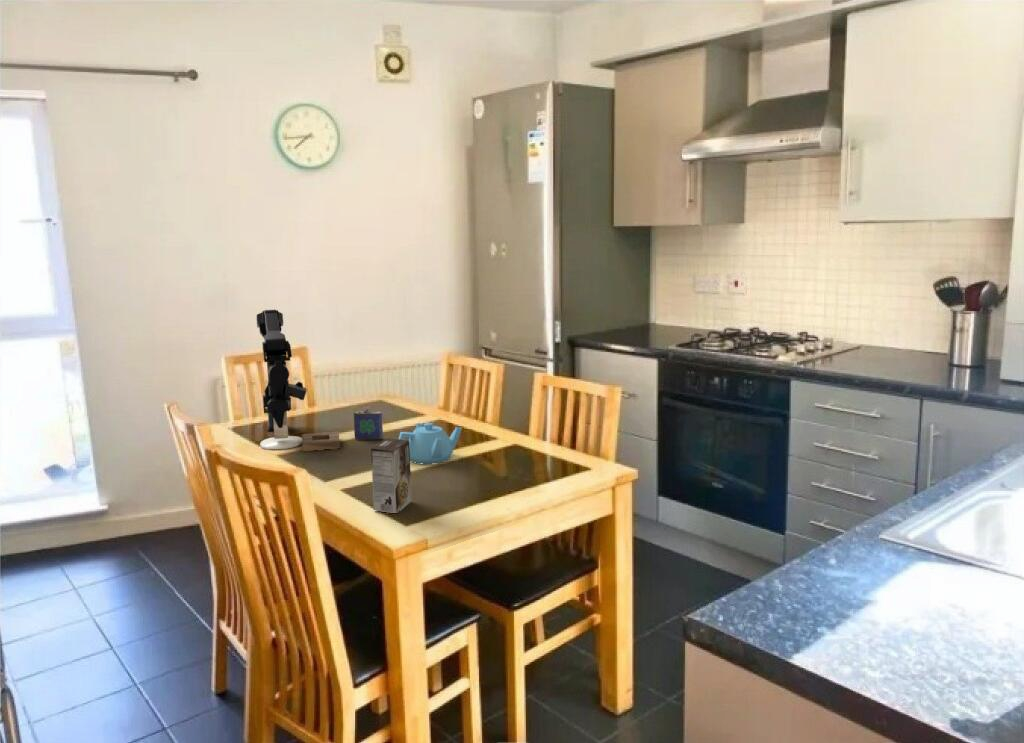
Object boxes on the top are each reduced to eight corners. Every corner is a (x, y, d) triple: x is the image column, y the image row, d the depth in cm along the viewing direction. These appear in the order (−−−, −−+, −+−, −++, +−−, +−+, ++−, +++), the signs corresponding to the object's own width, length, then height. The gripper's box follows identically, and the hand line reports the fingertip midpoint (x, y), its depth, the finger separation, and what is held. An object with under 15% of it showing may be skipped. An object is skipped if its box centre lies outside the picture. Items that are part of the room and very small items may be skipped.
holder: (302, 441, 246) (302, 434, 246) (338, 439, 249) (338, 431, 248) (302, 451, 235) (302, 443, 235) (340, 448, 238) (339, 441, 238)
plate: (261, 440, 248) (261, 437, 248) (303, 437, 252) (303, 434, 252) (259, 451, 236) (259, 448, 236) (303, 447, 239) (303, 445, 239)
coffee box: (389, 499, 194) (386, 437, 191) (412, 501, 193) (410, 439, 189) (372, 512, 186) (369, 447, 183) (396, 514, 184) (394, 449, 181)
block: (275, 435, 245) (273, 408, 243) (288, 434, 246) (286, 407, 244) (274, 438, 241) (272, 411, 239) (287, 437, 242) (286, 410, 240)
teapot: (419, 449, 238) (418, 415, 236) (463, 453, 233) (462, 419, 230) (394, 463, 224) (392, 427, 222) (440, 468, 219) (439, 432, 216)
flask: (383, 438, 250) (382, 406, 248) (381, 440, 247) (380, 408, 245) (355, 438, 250) (354, 406, 248) (353, 440, 247) (351, 408, 245)
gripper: (304, 382, 233) (307, 431, 236) (304, 370, 251) (307, 417, 254) (265, 384, 230) (269, 434, 233) (268, 372, 248) (271, 419, 251)
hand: (280, 426), depth 243 cm, fingers closed on block, 4 cm apart
